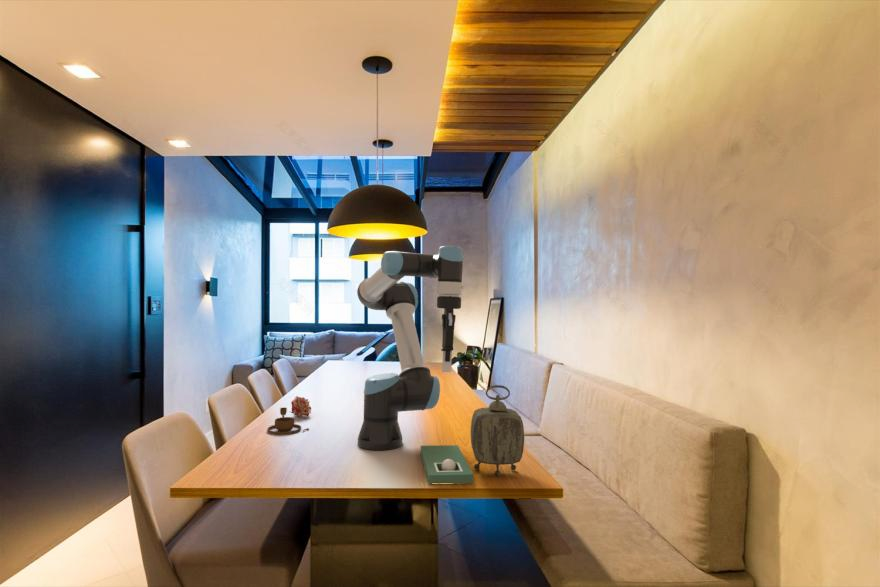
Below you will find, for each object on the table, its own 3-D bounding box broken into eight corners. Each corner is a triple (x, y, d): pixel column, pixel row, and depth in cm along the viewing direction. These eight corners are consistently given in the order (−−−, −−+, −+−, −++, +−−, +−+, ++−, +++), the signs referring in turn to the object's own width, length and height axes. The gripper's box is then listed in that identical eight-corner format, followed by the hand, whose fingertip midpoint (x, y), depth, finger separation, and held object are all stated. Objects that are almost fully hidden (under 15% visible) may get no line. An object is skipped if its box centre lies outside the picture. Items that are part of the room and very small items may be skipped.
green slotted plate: (428, 484, 121) (428, 475, 121) (420, 453, 147) (420, 445, 147) (473, 483, 122) (473, 474, 122) (457, 453, 148) (457, 445, 148)
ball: (441, 477, 128) (442, 467, 126) (440, 465, 131) (441, 455, 129) (455, 477, 128) (457, 467, 126) (454, 465, 132) (455, 455, 130)
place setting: (253, 435, 165) (253, 418, 165) (280, 421, 185) (280, 407, 185) (298, 438, 163) (299, 421, 163) (321, 424, 182) (321, 409, 183)
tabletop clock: (518, 468, 135) (520, 383, 136) (525, 480, 126) (526, 388, 127) (469, 467, 135) (471, 382, 136) (472, 479, 126) (474, 387, 126)
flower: (281, 413, 189) (290, 399, 187) (291, 404, 198) (300, 390, 196) (300, 427, 188) (309, 413, 186) (309, 417, 197) (319, 404, 195)
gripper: (464, 296, 136) (461, 375, 136) (458, 296, 149) (455, 368, 149) (439, 295, 135) (436, 375, 135) (435, 295, 148) (432, 368, 148)
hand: (446, 371), depth 142 cm, fingers closed
